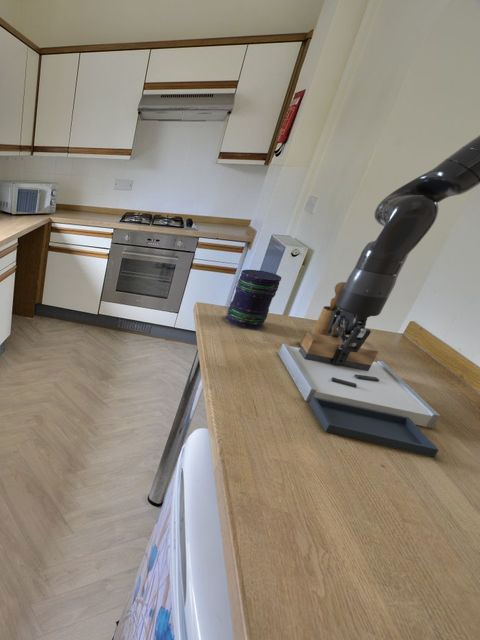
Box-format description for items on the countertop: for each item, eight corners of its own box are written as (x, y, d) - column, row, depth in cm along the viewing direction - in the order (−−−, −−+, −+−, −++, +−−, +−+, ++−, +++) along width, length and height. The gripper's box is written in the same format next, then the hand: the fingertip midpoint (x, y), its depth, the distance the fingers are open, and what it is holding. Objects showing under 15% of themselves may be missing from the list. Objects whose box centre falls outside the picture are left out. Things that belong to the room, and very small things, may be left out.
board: (377, 372, 97) (383, 361, 96) (432, 428, 77) (440, 415, 76) (278, 353, 104) (282, 343, 103) (305, 400, 84) (311, 388, 83)
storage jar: (240, 315, 128) (256, 268, 122) (270, 327, 120) (290, 278, 114) (217, 318, 125) (233, 270, 118) (247, 331, 117) (266, 280, 110)
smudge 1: (355, 385, 86) (356, 383, 86) (355, 387, 85) (356, 385, 85) (331, 379, 88) (332, 377, 88) (331, 381, 87) (332, 379, 87)
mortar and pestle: (306, 351, 106) (337, 284, 98) (295, 341, 112) (322, 277, 104) (336, 355, 105) (369, 288, 97) (322, 344, 110) (352, 280, 103)
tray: (404, 424, 78) (408, 417, 77) (433, 457, 70) (438, 449, 69) (309, 403, 83) (312, 396, 83) (325, 431, 75) (329, 424, 74)
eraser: (359, 361, 96) (369, 342, 94) (368, 371, 92) (379, 351, 90) (298, 350, 100) (306, 332, 98) (304, 359, 96) (313, 339, 94)
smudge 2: (374, 379, 89) (376, 377, 88) (378, 381, 88) (379, 379, 87) (353, 376, 89) (354, 374, 89) (357, 378, 88) (358, 376, 88)
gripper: (404, 303, 81) (364, 377, 89) (374, 284, 93) (341, 350, 101) (357, 297, 84) (322, 368, 91) (334, 279, 96) (304, 344, 103)
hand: (332, 359), depth 96 cm, fingers closed on eraser, 5 cm apart
